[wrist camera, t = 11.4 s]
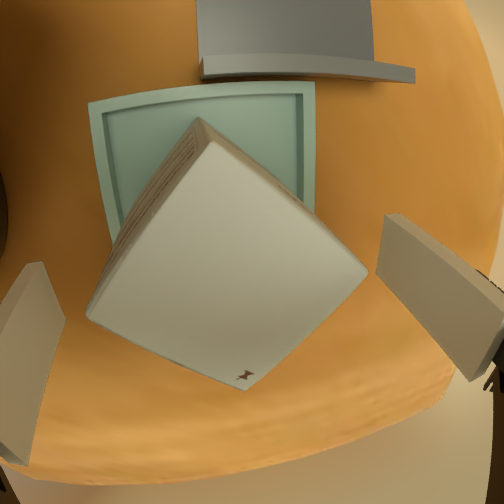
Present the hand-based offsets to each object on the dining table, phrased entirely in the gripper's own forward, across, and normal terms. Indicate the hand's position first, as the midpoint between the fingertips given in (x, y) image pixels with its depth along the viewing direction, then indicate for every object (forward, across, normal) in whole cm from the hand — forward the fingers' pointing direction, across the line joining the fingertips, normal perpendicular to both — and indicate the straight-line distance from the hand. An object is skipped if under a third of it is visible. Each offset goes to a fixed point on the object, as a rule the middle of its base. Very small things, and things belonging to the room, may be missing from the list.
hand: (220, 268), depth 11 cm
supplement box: (+11, 0, 0) cm, 11 cm away
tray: (+12, 0, 0) cm, 12 cm away
